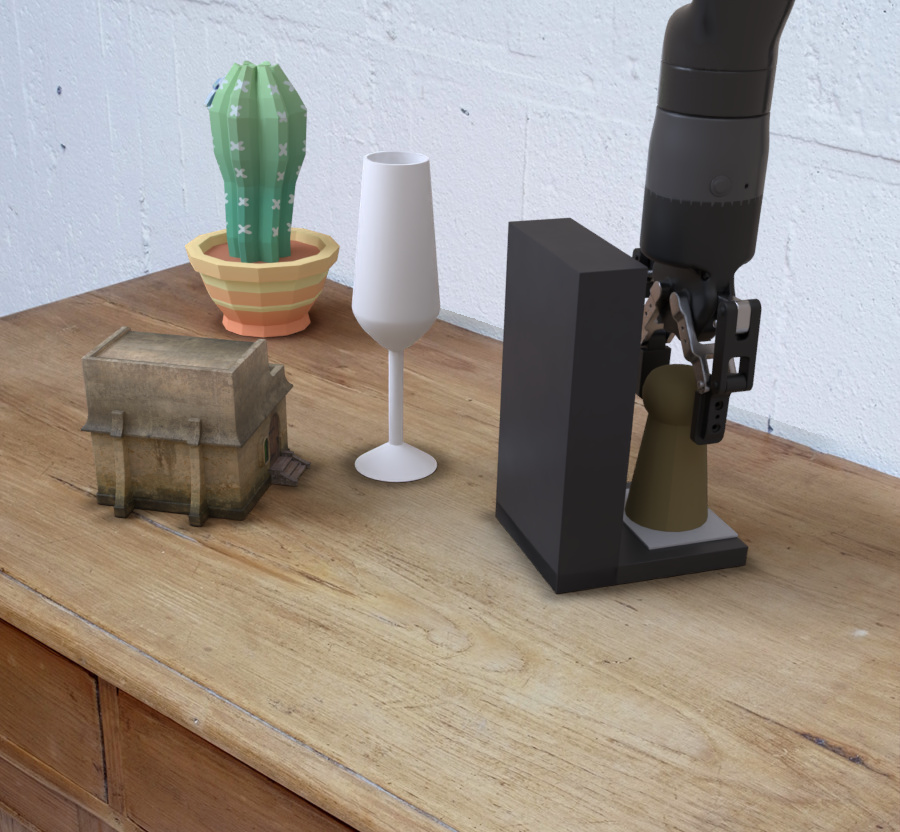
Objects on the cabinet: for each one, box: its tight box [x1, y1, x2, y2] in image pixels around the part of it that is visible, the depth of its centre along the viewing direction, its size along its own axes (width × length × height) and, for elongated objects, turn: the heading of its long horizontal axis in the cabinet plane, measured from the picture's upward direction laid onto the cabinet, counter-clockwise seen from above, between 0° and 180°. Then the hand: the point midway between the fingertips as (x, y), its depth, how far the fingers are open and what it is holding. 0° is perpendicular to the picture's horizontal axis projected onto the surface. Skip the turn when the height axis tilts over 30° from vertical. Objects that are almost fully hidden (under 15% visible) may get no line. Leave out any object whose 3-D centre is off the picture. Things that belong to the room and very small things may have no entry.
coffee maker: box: [494, 217, 749, 595], centre depth 90 cm, size 14×12×22 cm
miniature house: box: [80, 325, 312, 527], centre depth 100 cm, size 15×14×11 cm
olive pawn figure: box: [624, 363, 709, 532], centre depth 93 cm, size 6×6×11 cm
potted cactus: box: [184, 60, 341, 338], centre depth 129 cm, size 15×15×25 cm
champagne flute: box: [351, 150, 441, 483], centre depth 100 cm, size 7×7×24 cm
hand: (676, 418), depth 92 cm, fingers open, 8 cm apart
